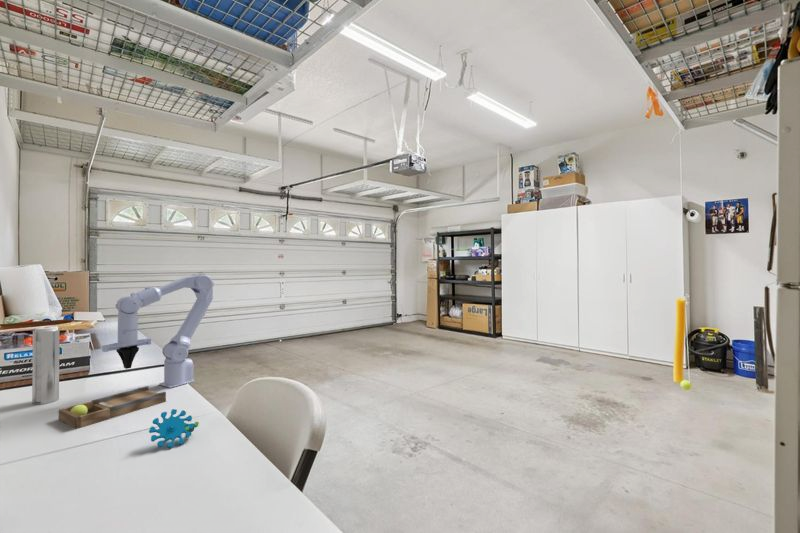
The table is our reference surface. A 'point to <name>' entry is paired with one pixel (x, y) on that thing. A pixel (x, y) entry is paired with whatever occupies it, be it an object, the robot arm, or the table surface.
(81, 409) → the ball
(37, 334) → the silver metal cylinder
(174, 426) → the gear
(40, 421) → the table surface
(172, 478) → the table surface
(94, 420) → the wooden tray
